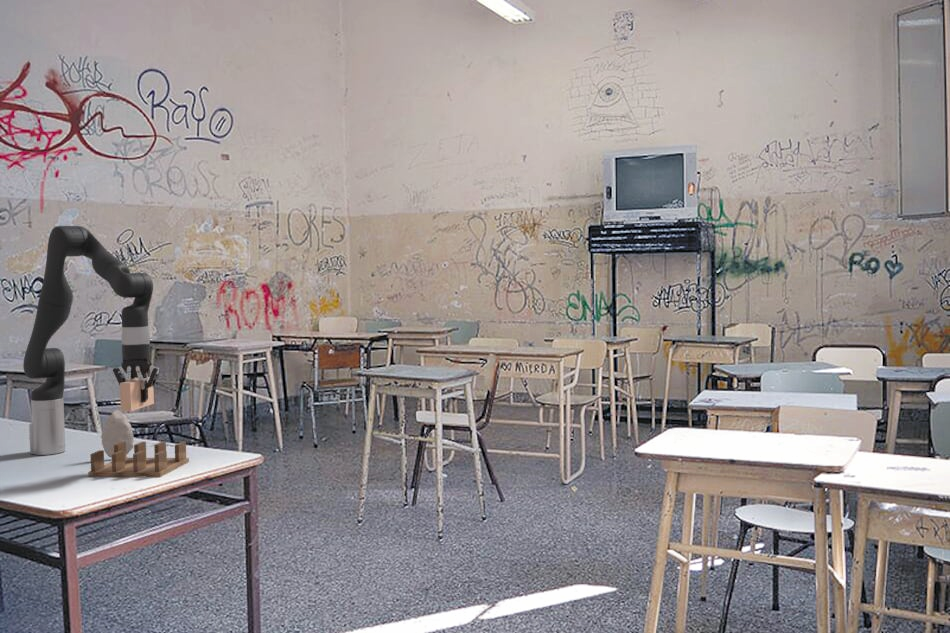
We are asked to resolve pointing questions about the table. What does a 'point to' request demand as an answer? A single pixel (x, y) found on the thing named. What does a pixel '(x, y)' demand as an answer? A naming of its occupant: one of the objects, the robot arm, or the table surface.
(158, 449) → the drying rack
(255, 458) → the table surface
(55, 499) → the table surface
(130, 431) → the stone tool
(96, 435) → the table surface
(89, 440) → the table surface
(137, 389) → the peach rectangular block
